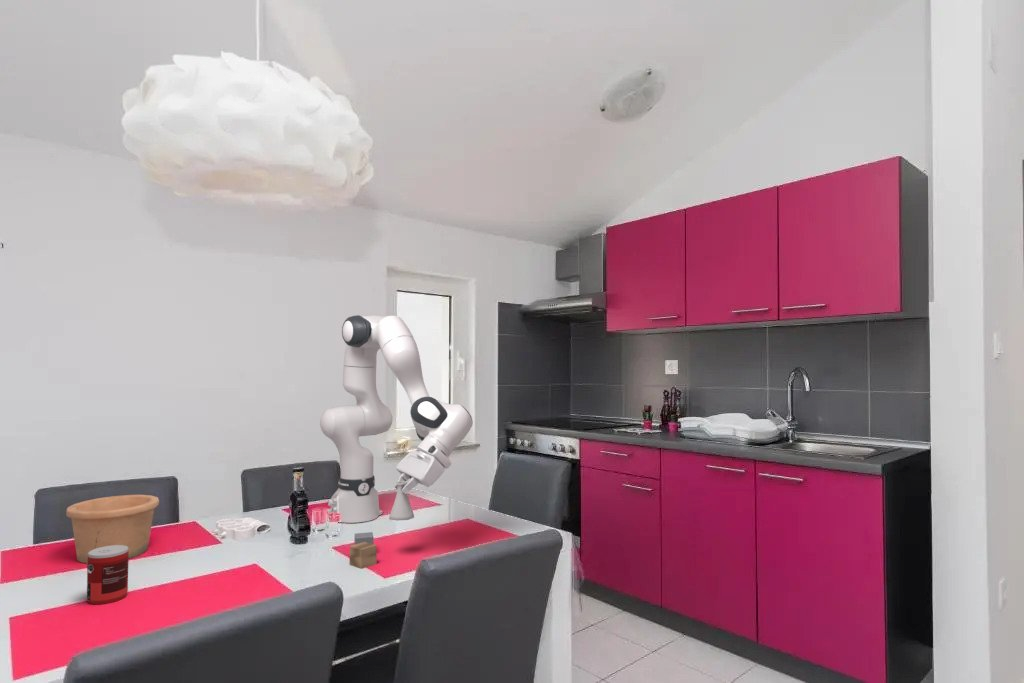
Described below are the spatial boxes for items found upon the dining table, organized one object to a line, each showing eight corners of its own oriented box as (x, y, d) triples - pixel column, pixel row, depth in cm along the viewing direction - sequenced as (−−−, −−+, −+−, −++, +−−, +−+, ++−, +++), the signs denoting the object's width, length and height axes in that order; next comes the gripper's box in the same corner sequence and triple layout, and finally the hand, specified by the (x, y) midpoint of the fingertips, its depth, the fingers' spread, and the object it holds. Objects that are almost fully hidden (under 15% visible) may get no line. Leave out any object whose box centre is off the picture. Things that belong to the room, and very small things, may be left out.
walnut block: (349, 565, 159) (349, 546, 159) (364, 560, 163) (364, 541, 163) (361, 569, 156) (361, 549, 156) (376, 564, 159) (376, 545, 160)
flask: (410, 521, 163) (410, 485, 164) (385, 521, 164) (385, 484, 165) (417, 515, 171) (418, 480, 171) (393, 514, 171) (393, 479, 172)
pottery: (175, 548, 174) (176, 498, 174) (95, 572, 154) (96, 516, 154) (128, 538, 183) (128, 491, 183) (47, 560, 163) (48, 507, 163)
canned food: (99, 592, 140) (100, 545, 141) (134, 591, 141) (135, 544, 141) (78, 605, 133) (79, 555, 133) (116, 604, 133) (117, 554, 134)
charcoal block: (354, 551, 170) (354, 533, 170) (372, 549, 172) (372, 532, 172) (355, 556, 166) (355, 538, 166) (373, 554, 167) (373, 537, 167)
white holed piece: (275, 534, 188) (227, 545, 178) (249, 524, 200) (204, 533, 190) (275, 523, 189) (228, 533, 178) (250, 513, 201) (204, 522, 190)
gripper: (411, 441, 180) (379, 476, 175) (439, 450, 163) (405, 490, 158) (424, 454, 183) (394, 490, 177) (454, 465, 165) (421, 505, 160)
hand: (399, 490), depth 167 cm, fingers closed on flask, 3 cm apart
